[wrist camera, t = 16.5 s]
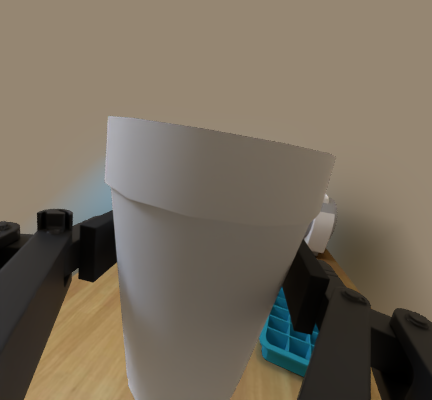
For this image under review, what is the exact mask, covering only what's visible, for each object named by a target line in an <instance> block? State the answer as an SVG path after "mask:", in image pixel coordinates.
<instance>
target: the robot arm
mask: <svg viewBox="0 0 432 400" xmlns="http://www.w3.org/2000/svg"><path fill="white" fill-rule="evenodd" d="M72 220H73V213H72V212H71V211H69V210H65V209H48V210H43V211H40V212H38V213H37V225H38V226H37V227H38V228H37V230H38V231H37V232H36V233H35V234H34V235H31V234H20V225H19V224H17V223H13V222H5V221H4V222H3V221H1V222H0V400H24V398H25V395H26V393H27V390H28V388H29V385H30V383H31V380H32V378H33V375H34V373H35V370H36V368H37V365H38V363H39V360H40V358H41V355H42V353H43V350H44V348H45V345H46V343H47V341H48V338H49V336H50V333H51V331H52V328H53V326H54V323H55V321H56V318H57V316H58V313H59V311H60V308H61V306H62V303H63V301H64V298H65V296H66V293H67V291H68V288H69V286H70V283H71V281H72V272H73V271H75V270H76V269H77V268H79V277H78V279H81V280H86V281H90V282H94V281H96V280H97V279H98V278H99V277H100V276H101V275H103V274H104V273H105V272H106V271H107V270H108V269H109V268H111V267H112V266H113V265H114V264H115V263H116V262H117V253H116V241H115V230H114V218H113V210H112V211H110V212H107V213H105V214H103V215H100V216H95V217H92V218H90V219H88V220H85V221H83V222H82V223H78V224H76V225H74V226H72V224H73V221H72ZM282 288H283V292H284V295H285V299H286V303H287V307H288V310H289V314H290V318H291V322H292V325H293V329H294V331H297V332H301V333H305V334H309V335H312V333H313V330H314V327H315V324H316V325H317V328H318V330H319V333H318V336H317V339H316V342H315V345H314V348H313V351H312V354H311V357H310V361H309V364H308V367H307V370H306V373H305V376H304V379H303V382H302V385H301V388H300V391H299V395H298V398H297V400H371V367H372V372H373V375H374V378H375V381H376V384H377V387H378V390H379V393H380V396H381V399H382V400H432V322H430V321H429V320H427V318H426V317H424V316H422V315H420V314H418V313H416V312H412V311H409V310H406V309H402V308H397V309H395V310H394V312H393V315H392V317H390V316H387V315H385V314H382V313H380V312H377V311H375V310H373V309H371V305H370V303H369V301H368V300H367V299H366V298H365V297H364V296H363V295H361V294H360V293H358V292H356V291H354V290H352V289H349V288H346V286H345V285H344V284H343V282H342V281H341V280H340V278H338V275H337V274H336V273H335V271H334V270H333V269H332V267H331V266H330V265H328V264H327V263H326V262H324V261H322V260H317V259H316V257H315V255H314V254H313V252H312V251H311V249H310V248H309V246H308V245H307V243H306V242H305V240H304V239H303V240H302V242H301V244H300V246H299V249H298V251H297V253H296V255H295V258H294V260H293V262H292V264H291V267H290V269H289V271H288V273H287V276H286V278H285V280H284V282H283V285H282Z"/></svg>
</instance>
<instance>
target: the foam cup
mask: <svg viewBox="0 0 432 400" xmlns="http://www.w3.org/2000/svg"><path fill="white" fill-rule="evenodd" d="M106 146H107V147H106V165H105V183H106V184H107V185H109V186H110V187H111V194H112V206H113V218H114V230H115V241H116V253H117V265H118V276H119V288H120V299H121V311H122V323H123V334H124V346H125V358H126V369H127V377H128V379H129V380H128V386H129V388H130V390H131V392H132V394H133V396H134V398H135V400H230V398H231V396H232V395H233V393H234V391H235V389H236V386H237V385H238V383H239V381H240V379H241V377H242V374H243V372H244V370H245V368H246V365H247V363H248V361H249V359H250V356H251V354H252V352H253V350H254V347H255V345H256V343H257V341H258V338H259V336H260V334H261V332H262V329H263V327H264V325H265V323H266V320H267V318H268V316H269V314H270V312H271V309H272V307H273V305H274V303H275V300H276V298H277V296H278V294H279V291H280V289H281V287H282V285H283V282H284V280H285V278H286V276H287V273H288V271H289V269H290V267H291V264H292V262H293V260H294V258H295V255H296V253H297V251H298V249H299V246H300V244H301V242H302V240H303V237H304V235H305V233H306V231H307V228H308V226H309V224H310V223H311V222H312V221H313V220H314V219H315V218H316V217H317V216H318V215H319V214H320V211H321V207H322V204H323V200H324V197H325V193H326V190H327V187H328V183H329V180H330V176H331V173H332V169H333V166H334V163H335V159H336V157H335V156H333V155H332V154H329V153H325V152H320V151H316V150H312V149H307V148H303V147H298V146H294V145H289V144H285V143H280V142H275V141H269V140H263V139H258V138H252V137H247V136H242V135H236V134H231V133H225V132H219V131H214V130H209V129H203V128H197V127H189V126H184V125H177V124H170V123H164V122H157V121H150V120H144V119H138V118H128V117H115V116H108V126H107V145H106Z"/></svg>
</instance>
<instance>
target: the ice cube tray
mask: <svg viewBox="0 0 432 400" xmlns="http://www.w3.org/2000/svg"><path fill="white" fill-rule="evenodd" d="M318 333H319V330H318V328H317V325H316V324H315V327H314V330H313V333H312V335H309V334H305V333H301V332H297V331H294V329H293V325H292V322H291V318H290V314H289V310H288V307H287V303H286V299H285V295H284V292H283V288H282V287H281V289H280V291H279V294H278V296H277V298H276V300H275V303H274V305H273V307H272V309H271V312H270V314H269V316H268V318H267V320H266V323H265V325H264V327H263V329H262V332H261V334H260V338H259V340H260V343H261V345H262V356H263V357H264V358H265V360H267V361H269V362H271V363H274V364H276V365H278V366H280V367H282V368H285V369H287V370H289V371H291V372H294V373H296V374H298V375H300V376H302V377H304V376H305V373H306V370H307V367H308V364H309V361H310V357H311V354H312V351H313V348H314V345H315V342H316V339H317V336H318Z"/></svg>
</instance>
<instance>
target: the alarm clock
mask: <svg viewBox="0 0 432 400" xmlns="http://www.w3.org/2000/svg"><path fill="white" fill-rule="evenodd" d="M336 221H337V207H336V204H335V202H334V200H333V199H331V198H328V196H327V195H326V194H325V197H324V200H323V204H322V207H321V211H320V214H319V215H318V216H317V217H316V218H315V219H314V220H313V221H312V222H311V223H310V224H309V226H308V228H307V231H306V233H305V235H304V237H303V239H304V240H305V242H306V243H307V245H308V246H309V248H310V249H311V251H312V252H313V254H314V255H316V256H317V255H318V252H320V253H324V250H325V248H326V245H327V243H328V240H329V239H330V237H331V236H332V234H333V232H334V229H335V226H336Z"/></svg>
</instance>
